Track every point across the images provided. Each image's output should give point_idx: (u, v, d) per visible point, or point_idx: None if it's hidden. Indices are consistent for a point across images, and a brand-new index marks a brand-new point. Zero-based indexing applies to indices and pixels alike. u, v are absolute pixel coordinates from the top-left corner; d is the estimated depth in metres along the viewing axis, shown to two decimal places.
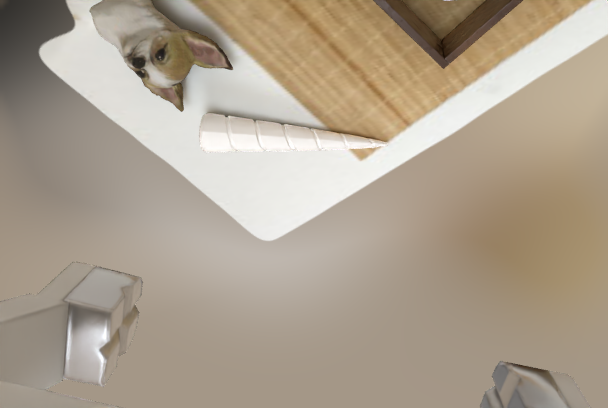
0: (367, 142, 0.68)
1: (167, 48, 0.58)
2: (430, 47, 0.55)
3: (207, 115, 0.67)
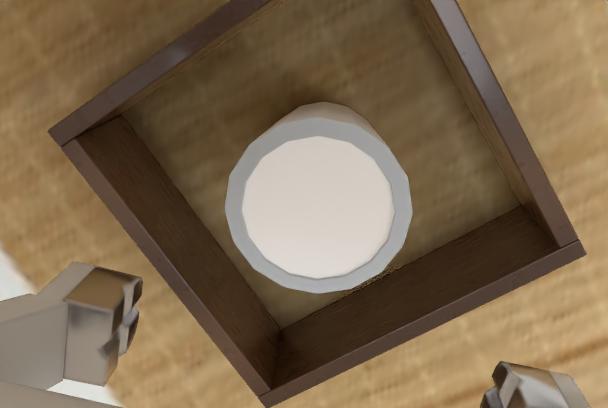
0: None
1: None
2: (516, 273, 0.22)
3: None
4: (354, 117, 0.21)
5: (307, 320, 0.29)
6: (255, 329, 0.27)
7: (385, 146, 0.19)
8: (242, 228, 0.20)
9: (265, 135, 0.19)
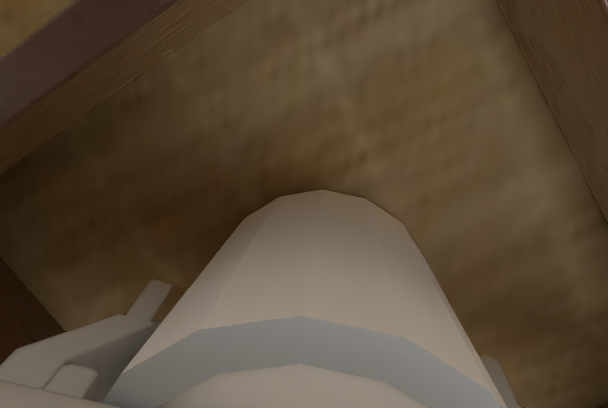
0: None
1: None
2: None
3: None
4: (388, 259, 0.10)
5: None
6: None
7: (482, 389, 0.07)
8: None
9: (161, 353, 0.07)
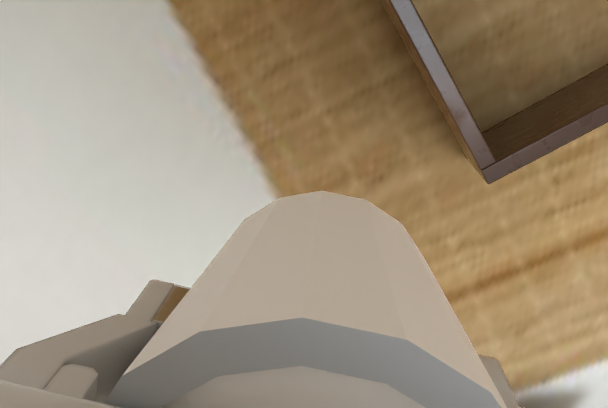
0: None
1: None
2: None
3: None
4: (388, 260, 0.10)
5: (504, 123, 0.28)
6: None
7: (483, 390, 0.07)
8: None
9: (162, 355, 0.07)
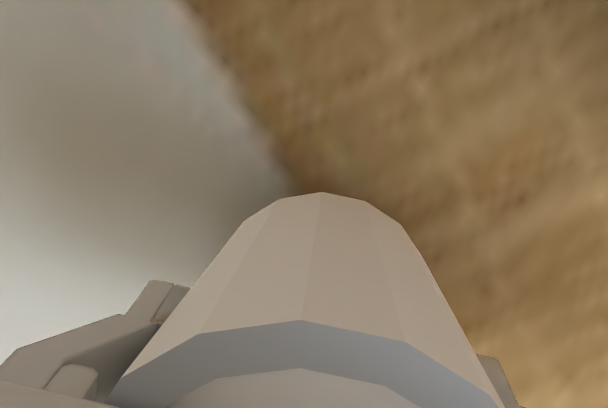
0: None
1: None
2: None
3: None
4: (387, 262, 0.10)
5: None
6: None
7: (481, 393, 0.07)
8: None
9: (161, 357, 0.07)
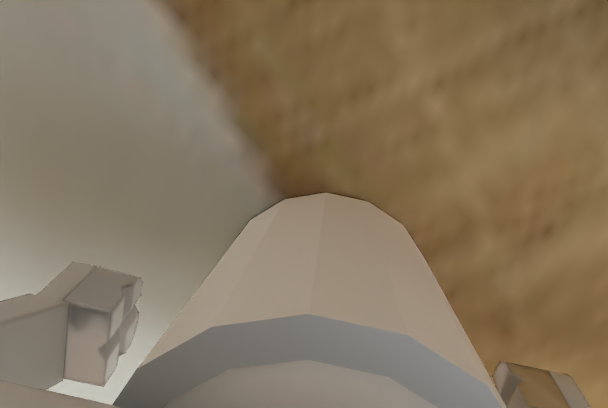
0: None
1: None
2: None
3: None
4: (390, 260, 0.10)
5: None
6: None
7: (480, 384, 0.07)
8: None
9: (176, 349, 0.07)
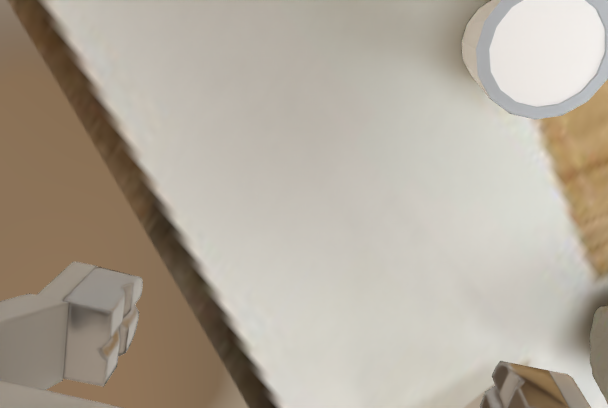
0: None
1: None
2: None
3: None
4: None
5: None
6: None
7: None
8: (487, 63, 0.27)
9: None
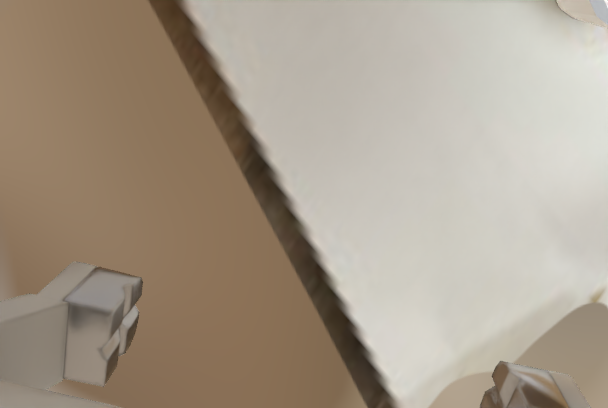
0: None
1: None
2: None
3: None
4: None
5: None
6: None
7: None
8: None
9: None
